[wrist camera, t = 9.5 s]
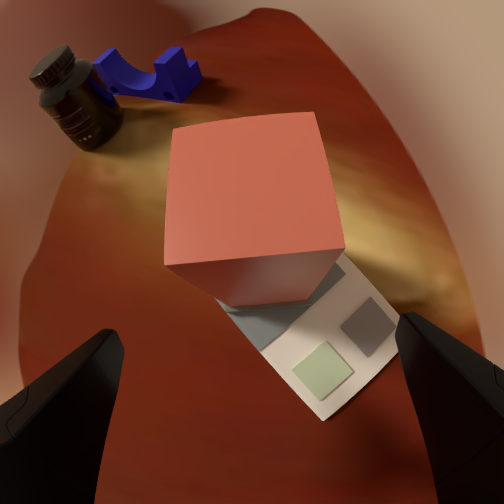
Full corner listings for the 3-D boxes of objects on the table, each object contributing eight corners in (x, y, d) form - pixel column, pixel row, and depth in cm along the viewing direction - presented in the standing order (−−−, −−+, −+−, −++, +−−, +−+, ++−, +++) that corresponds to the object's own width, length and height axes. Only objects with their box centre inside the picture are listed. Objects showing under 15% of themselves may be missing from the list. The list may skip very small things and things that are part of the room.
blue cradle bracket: (202, 79, 28) (190, 39, 22) (181, 104, 27) (164, 63, 21) (132, 73, 30) (116, 42, 25) (111, 94, 29) (92, 63, 24)
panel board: (410, 333, 18) (415, 333, 17) (321, 419, 17) (323, 422, 16) (280, 192, 22) (280, 187, 21) (190, 265, 21) (186, 262, 20)
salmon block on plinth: (310, 305, 19) (357, 257, 7) (228, 313, 19) (154, 276, 8) (300, 228, 20) (320, 106, 9) (223, 235, 21) (166, 124, 9)
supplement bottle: (82, 119, 28) (35, 57, 17) (128, 100, 28) (86, 27, 17) (72, 160, 26) (11, 96, 15) (120, 141, 26) (64, 61, 14)
